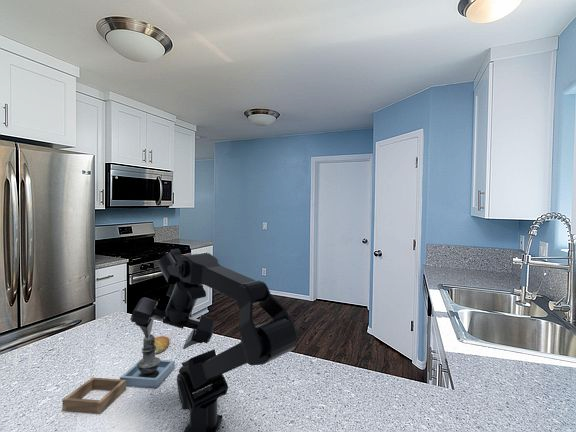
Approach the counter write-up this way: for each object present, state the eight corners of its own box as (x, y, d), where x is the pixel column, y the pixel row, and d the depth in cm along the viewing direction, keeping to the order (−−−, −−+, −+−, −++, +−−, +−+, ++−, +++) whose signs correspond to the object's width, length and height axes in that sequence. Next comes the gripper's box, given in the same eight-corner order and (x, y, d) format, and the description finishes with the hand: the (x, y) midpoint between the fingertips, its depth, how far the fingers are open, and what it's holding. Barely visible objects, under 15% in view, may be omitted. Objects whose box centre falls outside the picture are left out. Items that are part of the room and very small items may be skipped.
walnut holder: (100, 413, 68) (100, 402, 68) (62, 410, 69) (62, 399, 69) (126, 389, 77) (126, 379, 77) (92, 387, 78) (92, 377, 78)
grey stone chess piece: (143, 383, 79) (143, 338, 79) (132, 375, 82) (133, 332, 82) (164, 374, 83) (164, 331, 83) (153, 367, 87) (154, 325, 87)
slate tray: (156, 388, 78) (156, 380, 78) (119, 385, 79) (119, 377, 79) (174, 368, 88) (174, 360, 88) (141, 366, 89) (141, 358, 89)
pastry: (156, 341, 106) (156, 330, 106) (174, 342, 105) (175, 332, 105) (140, 354, 96) (140, 342, 96) (160, 355, 96) (160, 343, 96)
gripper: (227, 288, 79) (208, 328, 85) (156, 264, 75) (141, 308, 81) (219, 320, 69) (199, 363, 75) (137, 295, 65) (122, 342, 71)
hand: (166, 342), depth 76 cm, fingers open, 9 cm apart
